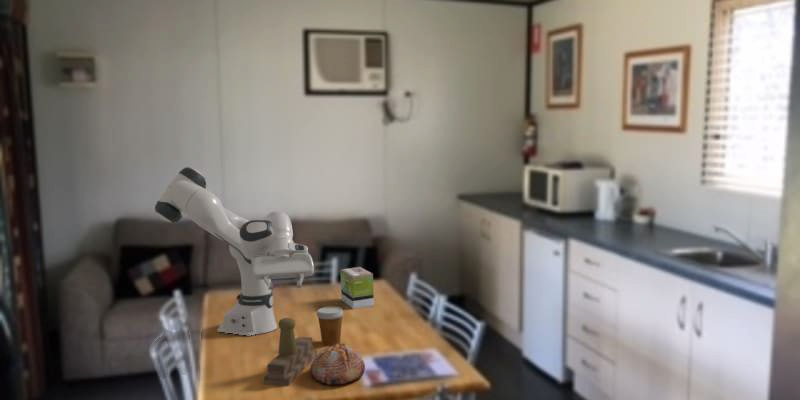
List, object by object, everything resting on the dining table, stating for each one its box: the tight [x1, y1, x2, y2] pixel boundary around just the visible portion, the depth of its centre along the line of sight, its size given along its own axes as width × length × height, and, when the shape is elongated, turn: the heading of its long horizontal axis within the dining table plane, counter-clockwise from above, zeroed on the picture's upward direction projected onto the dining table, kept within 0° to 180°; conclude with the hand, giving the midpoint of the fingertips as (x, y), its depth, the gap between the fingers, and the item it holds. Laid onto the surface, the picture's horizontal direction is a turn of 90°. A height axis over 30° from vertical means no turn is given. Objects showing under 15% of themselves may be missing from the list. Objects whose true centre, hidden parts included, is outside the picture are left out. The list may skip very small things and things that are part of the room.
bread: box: [309, 342, 366, 386], centre depth 199 cm, size 16×20×10 cm
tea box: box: [339, 266, 375, 310], centre depth 280 cm, size 15×10×15 cm, turn 25°
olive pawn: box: [278, 317, 298, 356], centre depth 202 cm, size 6×6×11 cm
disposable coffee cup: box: [316, 306, 344, 346], centre depth 229 cm, size 10×10×12 cm
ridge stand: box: [263, 336, 318, 386], centre depth 205 cm, size 26×8×6 cm, turn 169°
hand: (285, 287), depth 212 cm, fingers open, 8 cm apart
